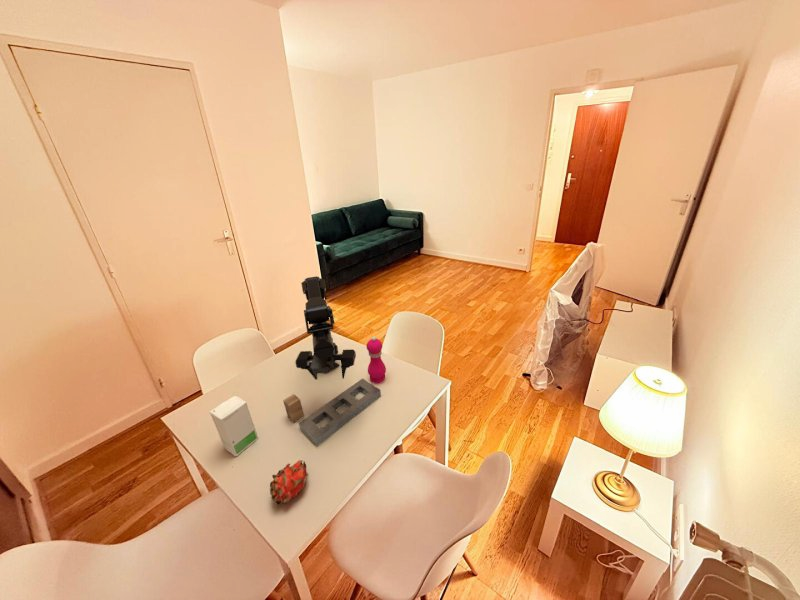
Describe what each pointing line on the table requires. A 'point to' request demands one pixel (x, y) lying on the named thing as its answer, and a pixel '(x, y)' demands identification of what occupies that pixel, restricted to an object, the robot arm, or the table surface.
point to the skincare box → (234, 425)
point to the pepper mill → (376, 361)
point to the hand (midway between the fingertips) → (330, 378)
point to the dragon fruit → (288, 482)
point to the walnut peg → (293, 408)
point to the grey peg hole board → (334, 416)
